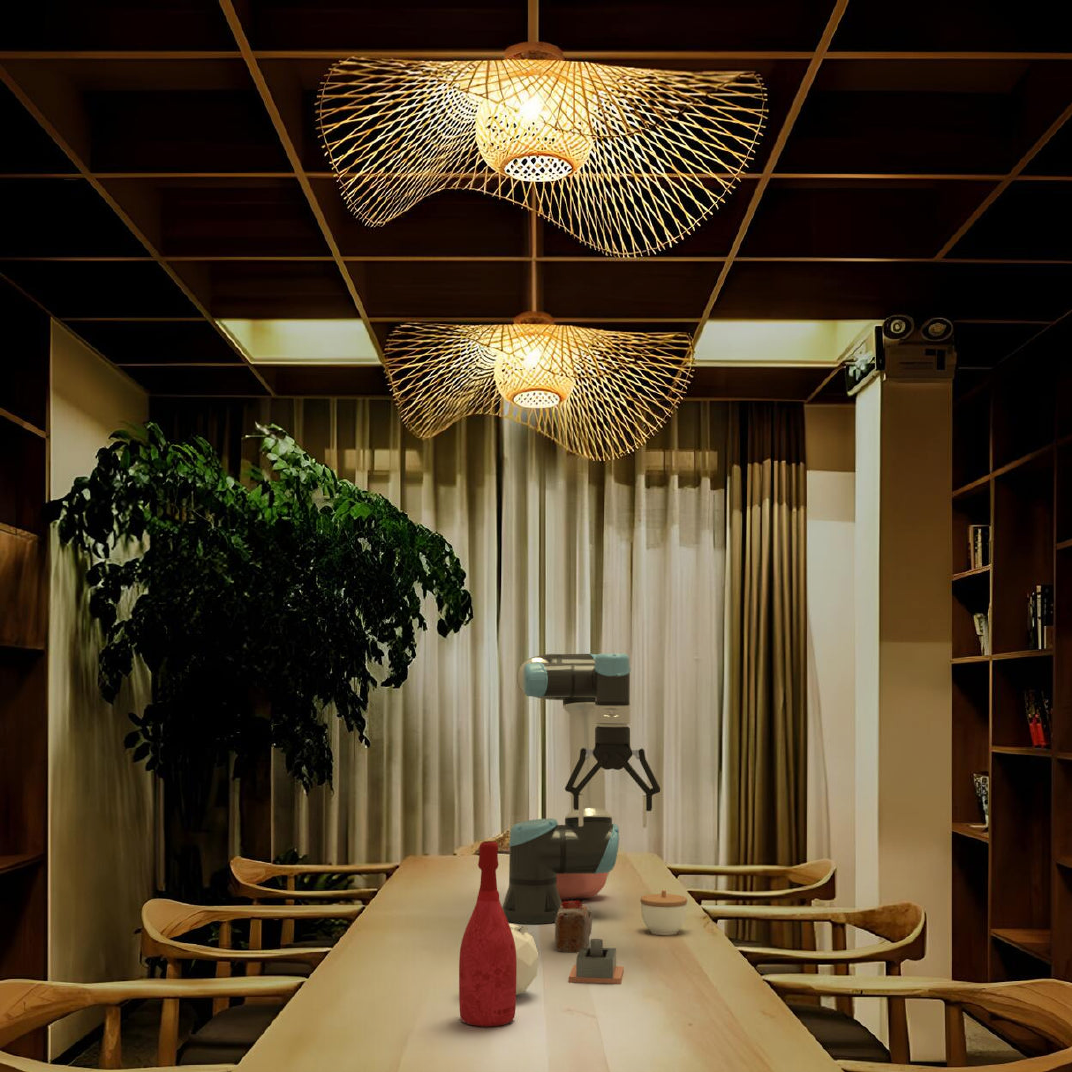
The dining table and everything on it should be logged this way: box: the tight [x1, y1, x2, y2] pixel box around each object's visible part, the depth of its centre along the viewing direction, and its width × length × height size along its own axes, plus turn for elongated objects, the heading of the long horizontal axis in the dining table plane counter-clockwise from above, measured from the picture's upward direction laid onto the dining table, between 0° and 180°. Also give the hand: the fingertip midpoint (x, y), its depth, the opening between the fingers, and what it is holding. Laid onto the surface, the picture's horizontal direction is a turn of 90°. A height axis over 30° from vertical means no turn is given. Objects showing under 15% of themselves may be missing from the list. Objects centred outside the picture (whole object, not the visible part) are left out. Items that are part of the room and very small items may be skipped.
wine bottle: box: [458, 840, 517, 1028], centre depth 215 cm, size 10×10×30 cm
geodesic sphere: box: [509, 923, 539, 996], centre depth 231 cm, size 14×14×14 cm
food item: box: [554, 899, 593, 953], centre depth 273 cm, size 14×8×10 cm, turn 176°
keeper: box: [568, 938, 625, 985], centre depth 245 cm, size 10×10×7 cm
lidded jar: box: [640, 889, 688, 936], centre depth 288 cm, size 11×11×9 cm
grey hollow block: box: [575, 946, 617, 978], centre depth 245 cm, size 10×7×4 cm
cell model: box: [557, 872, 610, 901], centre depth 331 cm, size 17×20×11 cm
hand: (612, 826), depth 266 cm, fingers open, 13 cm apart
